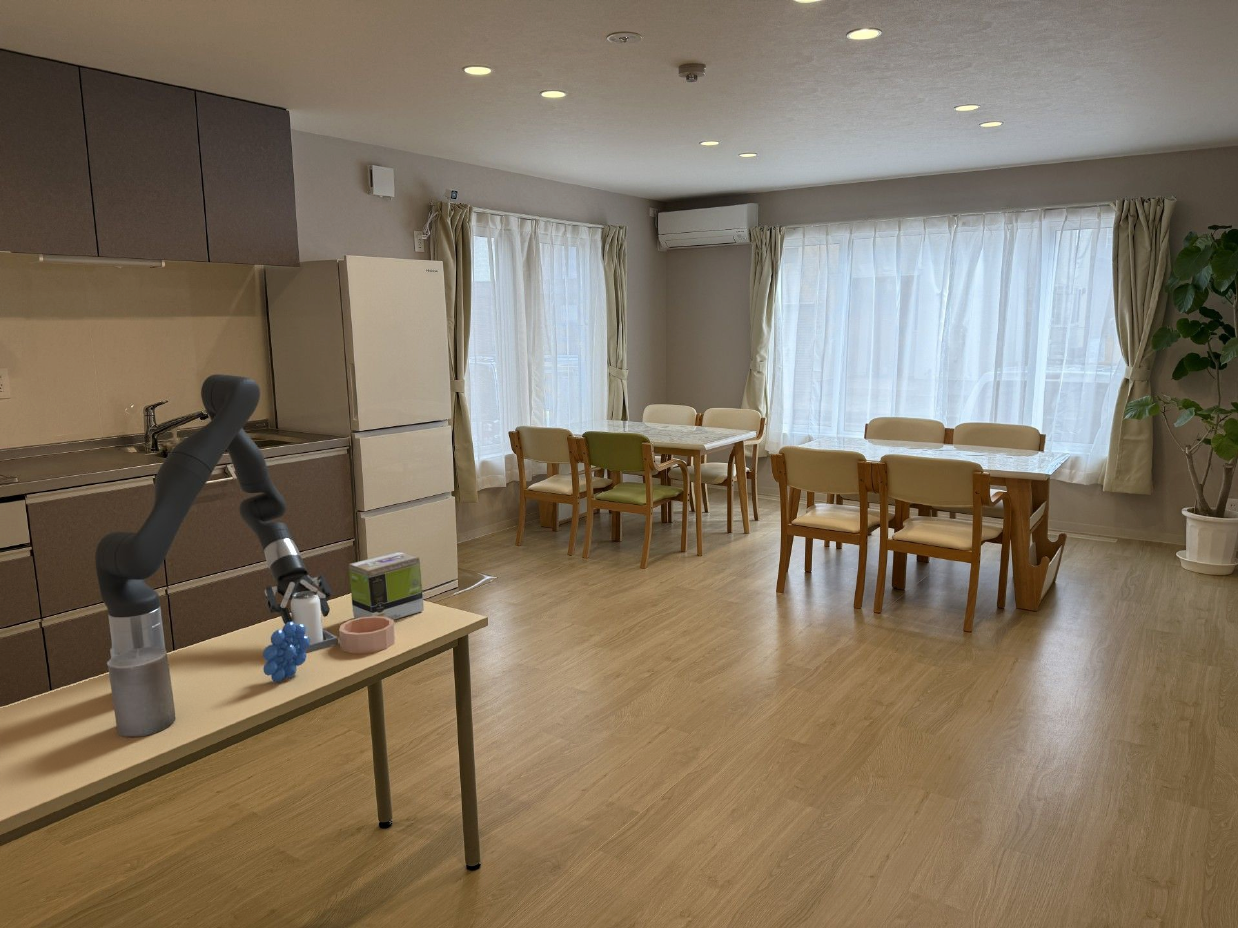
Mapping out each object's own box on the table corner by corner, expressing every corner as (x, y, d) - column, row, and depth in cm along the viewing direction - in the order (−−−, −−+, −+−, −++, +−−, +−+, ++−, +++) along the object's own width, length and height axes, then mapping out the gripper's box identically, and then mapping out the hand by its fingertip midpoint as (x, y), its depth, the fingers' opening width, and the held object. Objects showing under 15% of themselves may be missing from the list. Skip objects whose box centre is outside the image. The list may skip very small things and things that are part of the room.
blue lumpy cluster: (297, 664, 185) (292, 612, 183) (319, 669, 182) (314, 616, 180) (251, 684, 175) (246, 629, 173) (274, 690, 172) (269, 634, 170)
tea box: (403, 603, 225) (400, 550, 223) (424, 611, 218) (421, 556, 216) (351, 618, 215) (347, 562, 212) (372, 627, 208) (368, 569, 205)
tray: (296, 655, 190) (295, 648, 190) (279, 643, 198) (278, 637, 197) (338, 643, 197) (337, 637, 197) (320, 632, 204) (320, 626, 204)
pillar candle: (167, 708, 164) (158, 635, 162) (182, 725, 157) (172, 649, 155) (111, 726, 158) (100, 650, 155) (124, 743, 151) (112, 664, 148)
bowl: (355, 657, 188) (354, 638, 188) (332, 643, 197) (331, 625, 196) (404, 643, 196) (402, 624, 196) (379, 630, 205) (378, 612, 204)
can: (304, 651, 193) (300, 600, 191) (288, 645, 197) (284, 595, 195) (328, 642, 198) (325, 593, 196) (313, 636, 202) (309, 588, 200)
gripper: (258, 559, 195) (281, 618, 188) (318, 547, 204) (342, 603, 198) (251, 577, 200) (274, 635, 193) (310, 564, 209) (334, 619, 203)
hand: (308, 619), depth 195 cm, fingers open, 8 cm apart
